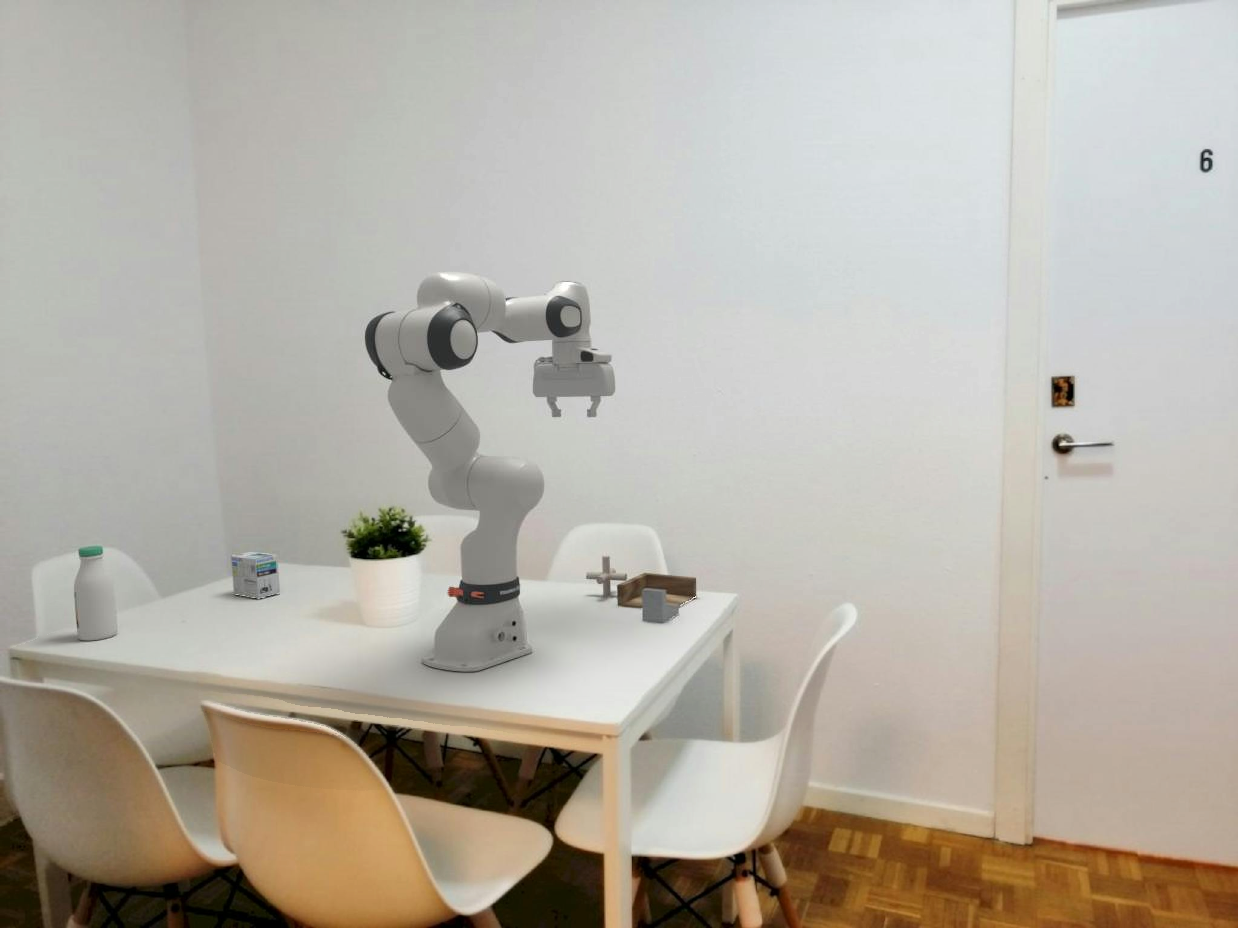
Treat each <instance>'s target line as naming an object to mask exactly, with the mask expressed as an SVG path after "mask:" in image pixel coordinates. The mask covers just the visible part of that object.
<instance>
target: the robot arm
mask: <svg viewBox="0 0 1238 928" xmlns="http://www.w3.org/2000/svg"><path fill="white" fill-rule="evenodd" d="M588 293H589V292H588V290H587V287H586V286H585V285H583V284H582V283H580V282H577V281H570V280H567V281H566V280H562V281H557V282H555V283H554V284H553V286H552V289H551V290H550V291H548V292H547V293H545V294H543V295H533V296H522V297H520V296H519V297H515V296H512V297H511V296H510V297H506V295H505V292H504V290H503V289H502V287H501V285H499V284H498V283H496V282H495V281H493V280H492V279H490V278H487V277H484V276H482V275H478V274H473V273H469V272H461V271H439V272H438V271H437V272H433V273H431V274H429V275H427V276H426V277H425V278H423V280H422V281H421V283H420V284H419V286H418V289H417V294H416V302H417V308H413V309H405V310H399V311H393V310H391V311H387V312H383V313H381V314H379V315H376V316H375V317H374V318H372V319H370V321H369V323H368V324H367V326H366V328H365V332H364V343H365V347H366V348H365V349H366V352H367V354H368V356H369V358H370V360H371V362H372V363H373V364H374V366H376V367H377V368H376V369H377V372H378V373H379V375H381V376H382V377H383V378H384V379H386V380H388V381H389V380H390V381H391V383H390V384H389V387H388V389H387V402H388V404H389V406H390V408H391V410H392V412H393V414H394V416H395V417H396V419H397V421H398V422H399V424H400V426H401V427H402V428H403V430H404V431H405V432H406V434H407V436H409V437H410V439H411V440H412V441H413V442H414V443H415V445H416V446H417V447H418V448H419V450H420V452H422V453H423V455H424V456H425V458H426V459H427V460H428V461H429V463H430V465H431V466H432V467H431V468H430V471H429V473H428V474H429V475H428V480H427V484H428V485H427V486H428V490H429V494H430V496H431V498H432V499H433V501H435V502H436V503H438V504H440V505H442V506H445V507H448V508H451V509H456V510H460V511H461V510H464V511H475V512H477V511H478V512H479V518H478V522H477V526H476V528H475V529H474V530H472V531H470V533H468V534H467V535H465V537H464V538H463V539H462V541H461V543H460V548H459V549H460V563H461V564H460V566H461V570H460V571H461V579H460V581H459V584H458V585H459V586H458V587H455V586H449V587H448V590H447V593H446V594H447V596H448V597H449V598H453V597H454V598H456V603H455V604H454V605H453V606H452V608H451V610H450V611H449V612H448V613H447V615H446V616H445V618H444V619H443V621H442V622H441V623H440V624H439V625H438V626H437V628H436V630H435V632H434V645H433V648H434V649H433V650H431V652H428V653H426V654H425V655H423V656H422V658H421V663H422V664H424V665H426V666H428V667H431V668H435V669H440V670H447V671H454V672H478V671H481V670H486V669H487V668H491V667H493V666H496V665H499V664H502V663H505V662H508V661H510V660H513V659H516V658H517V659H518V658H519V657H522V656H525V655H526V656H527V655H528V654H530V653H533V648H532V645H531V644H529V642H528V634H527V627H526V625H527V624H526V620H525V613H524V610H523V607H522V606H521V602H520V599H519V596H520V594H521V583H520V577H519V576H518V566H517V563H518V560H517V557H518V556H517V555H518V553H517V550H518V548H517V546H518V537H519V533H520V530H521V527H522V525H523V522H524V520H525V519H526V517H527V516H528V514H529V513H530V512H531V511H533V509H534V508H536V507H537V506H538V505H539V503H540V502H541V500H542V498H543V495H544V491H545V479H544V475H543V472H542V470H541V469H540V467H539V466H538V465H537V464H536V463H535V462H533V461H530V460H526V459H522V458H520V457H519V458H518V457H515V456H497V455H493V456H491V455H490V456H489V455H483V454H482V453H479V452H478V449H479V446H480V442H481V441H480V440H481V432H480V429H479V427H478V425H477V423H476V422H474V420H473V419H472V417H471V416H470V414H469V413H468V412H467V411H466V409H465V408H464V407H463V405H462V404H461V403H460V401H459V400H458V399H457V397H456V396H455V395H454V394H453V392H451V391H450V389H449V388H448V387H447V386H446V384H445V382H444V380H443V377H442V370H445V371H452V370H456V369H461V368H463V367H466V366H467V365H469V364H470V363H471V362H472V361H473V359H474V357H475V354H476V352H477V349H478V345H479V339H478V338H479V337H478V334H479V333H488V332H491V333H493V334H495V335H496V336H498V337H499V338H500V339H501V340H503V341H504V342H506V343H508V344H517V343H524V342H538V341H540V342H541V341H551V351H552V353H551V356H545V357H544V356H539V357H538V359H536V360H535V361H534V363H533V377H532V393H533V395H534V397H536V398H546V403H547V405H548V406H549V408H550V410H551V417H552V418H561V417H562V409H560V408H558V406H557V402H558V398H570V397H573V398H575V397H577V398H579V397H582V398H583V397H590V402H592V403H591V406H590V407H589V408H587V409H586V417H587V418H596V417H597V412H598V411H597V409H598V408H599V406H600V405H601V402H602V400H601V399H602V398H601V397H612V396H613V395H614V393H615V392H616V380H615V379H616V375H615V370H614V368H613V365H611V364H610V363H611V362H612V358H613V357H612V354H611V353H610V352H607V351H605V350H602V349H598V348H595V347H593V346H592V337H591V335H590V326H591V309H590V308H591V307H590V306H591V305H590V298H589V294H588Z"/></svg>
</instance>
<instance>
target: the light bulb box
mask: <svg viewBox="0 0 1238 928" xmlns="http://www.w3.org/2000/svg"><path fill="white" fill-rule="evenodd" d="M230 559H231V560H230V561H231V574H232V587H233V595H234V594H239V595H245V596H249V597H255V598H262V597H266V596H268V595H272V594H277V593H279V592H280V593H281V588H280V576H279V573H280V572H279V561H278V554H277V553H276V554H275V553H266V552H258V551H257V552H256V551H248V552H242V553H238V554H232V555H230Z"/></svg>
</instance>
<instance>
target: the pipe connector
mask: <svg viewBox="0 0 1238 928" xmlns="http://www.w3.org/2000/svg"><path fill="white" fill-rule="evenodd" d="M610 557H611V556H610V555H602V557H601V562H602V572H598V571H596V572H595V571H594V572H593V571H587V572H586V573H585V578H586V579H587V580H596V583H597V584H598V585H602V593H603V595H602V596H603V598H609V597H611V581H622V582H625V581H627V579H628V574H627V573H626V572H625V573H624V572H623V573H621V572H617V571H616V569H615V568H613V567H611V564H610V563H611V562H610Z"/></svg>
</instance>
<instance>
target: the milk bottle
mask: <svg viewBox="0 0 1238 928" xmlns="http://www.w3.org/2000/svg"><path fill="white" fill-rule="evenodd" d="M78 556H79V558H78V559H80V560H79V561H80V564H79V565H80V566H79V568H78V571H77V574H76V577H75V579H74V583H73V584H74V585H73V597H74V599H73V600H74V608H75V609H74V610H75V611H74V612H75V619H76V620H75V622H76V630H77V631H76V632H77V638H78V640H80V641H87V642H88V641H100V640H104V639H109V638H111V637H114V636H116V635H117V634H118V632H119V631H118V616H117V605H116V595H115V585H114V582H113V578H112V576H111V573H110V572H109V571H108V569H107V566H106V565H105V563H104V560H103V556H104V549H103V546H101V545H92V546H91V545H90V546H84V547H80V548H78Z"/></svg>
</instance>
